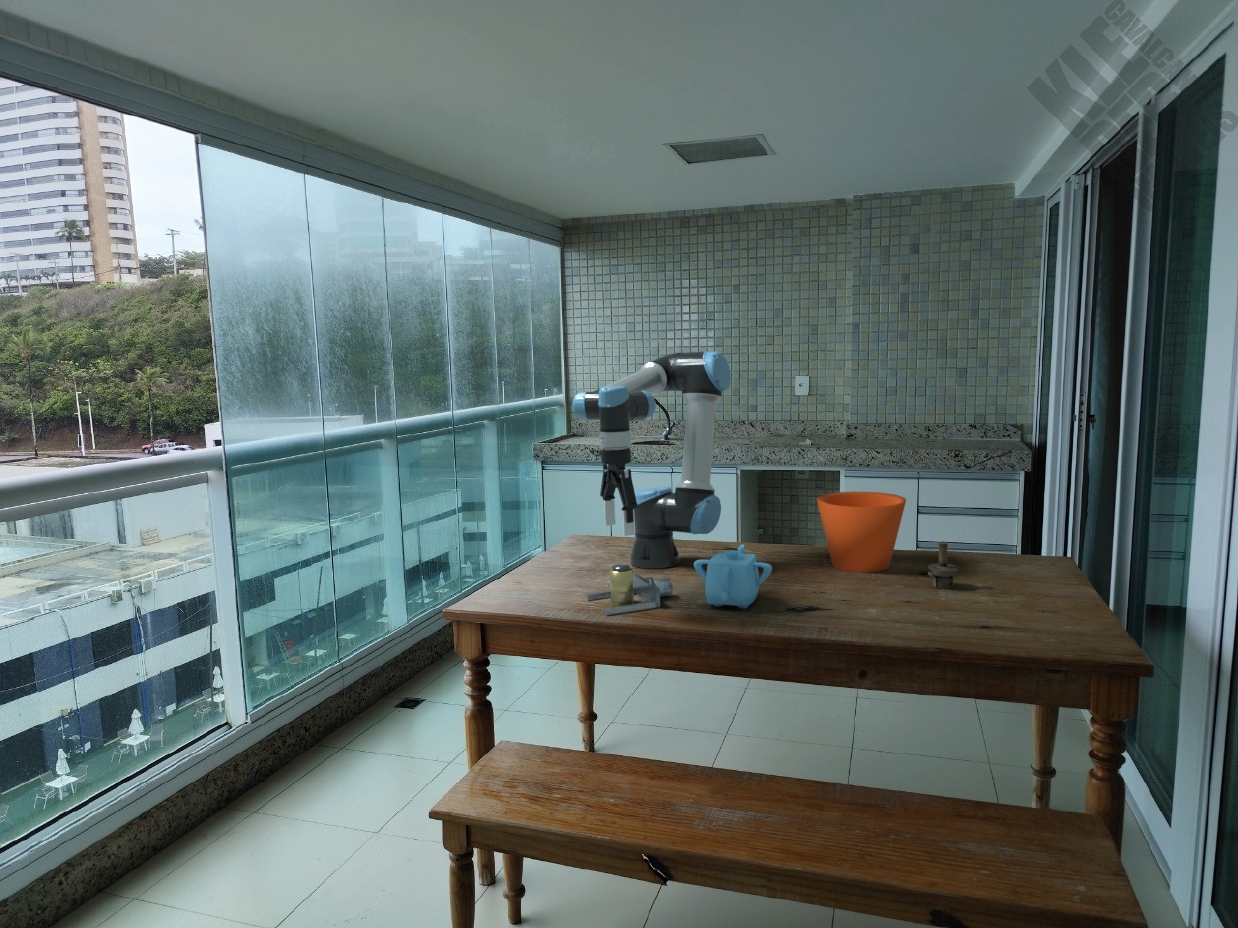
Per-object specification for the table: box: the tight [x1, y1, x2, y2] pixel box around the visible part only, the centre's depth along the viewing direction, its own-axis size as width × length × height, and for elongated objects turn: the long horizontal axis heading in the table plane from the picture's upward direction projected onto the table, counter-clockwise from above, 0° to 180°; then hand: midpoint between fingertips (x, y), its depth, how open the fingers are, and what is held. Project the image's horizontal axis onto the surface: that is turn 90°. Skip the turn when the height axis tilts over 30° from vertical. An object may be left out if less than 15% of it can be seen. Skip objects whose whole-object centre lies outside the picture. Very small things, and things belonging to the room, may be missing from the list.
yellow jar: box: [608, 564, 635, 607], centre depth 213 cm, size 6×6×10 cm
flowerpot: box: [816, 491, 907, 574], centre depth 241 cm, size 25×25×20 cm
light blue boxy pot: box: [693, 544, 773, 609], centre depth 211 cm, size 18×16×14 cm
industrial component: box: [927, 541, 959, 589], centre depth 217 cm, size 9×7×12 cm
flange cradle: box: [586, 573, 674, 616], centre depth 214 cm, size 21×15×6 cm
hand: (619, 529), depth 211 cm, fingers open, 13 cm apart
